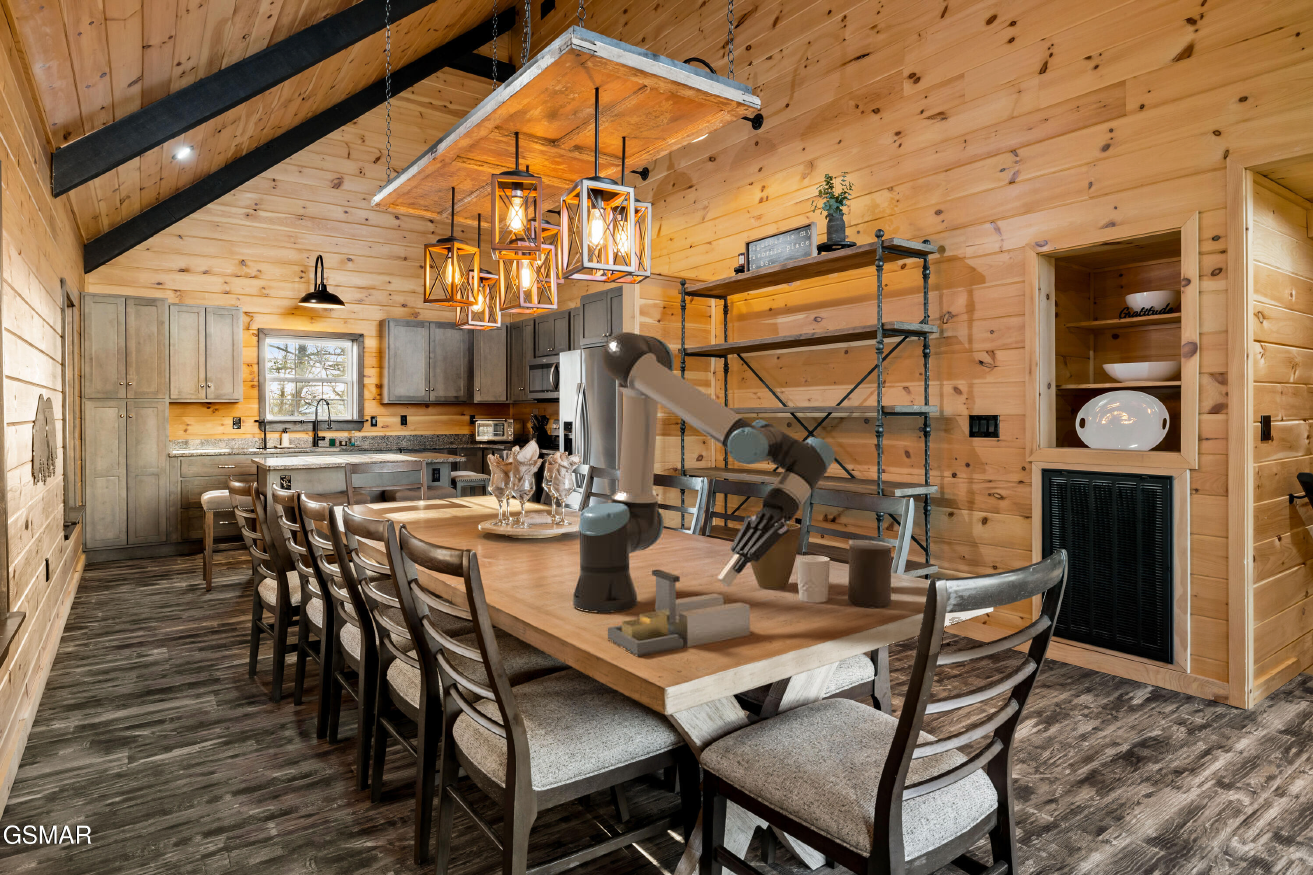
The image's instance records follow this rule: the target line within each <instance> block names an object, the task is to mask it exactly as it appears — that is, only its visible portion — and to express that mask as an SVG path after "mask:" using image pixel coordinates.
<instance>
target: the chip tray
mask: <svg viewBox="0 0 1313 875" xmlns="http://www.w3.org/2000/svg"><path fill="white" fill-rule="evenodd" d="M608 639H610V640H611V641H613V642H614V643H616V644H618V645H619V646H622V647H623V648H625V649H626V650H628V651H630V652H631V653H634V654H635V655H637V656H639V657H642V656H641V655H645V656H648V655H647V654H650V655H653V654H652V653H655V654H658V653H657V652H660V653H663V651H665V652H669V651H668V650H670V651H674V650H680V649H684V645H683V640H682V639H680V638H679V636H678V635H676V634H675V635H671V634H669V633H668V636H664V637H659V638H654V639H648V640H643V641H638V640H636V639H634V638H632V637H630V636H629V635H627V634H625V633H623V632H622V624H621V625H617V626H616V625H615V626H610V627H607V640H608ZM614 643H613V644H614ZM619 646H618V647H619ZM626 650H625V651H626ZM628 651H627V652H628ZM630 652H629V653H630ZM631 653H630V654H631ZM635 655H634V656H635ZM637 656H636V657H637Z"/></svg>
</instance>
